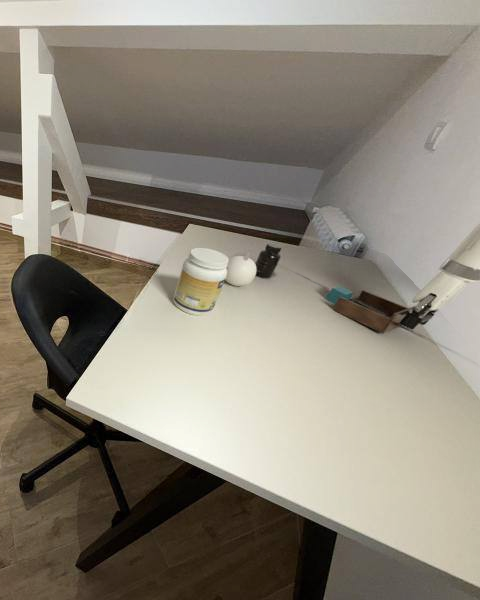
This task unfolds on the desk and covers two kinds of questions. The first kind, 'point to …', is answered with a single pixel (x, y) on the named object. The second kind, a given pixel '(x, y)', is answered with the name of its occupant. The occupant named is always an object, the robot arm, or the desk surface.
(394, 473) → the desk surface
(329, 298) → the block
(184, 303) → the supplement tub
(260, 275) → the supplement bottle
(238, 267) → the ornament
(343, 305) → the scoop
